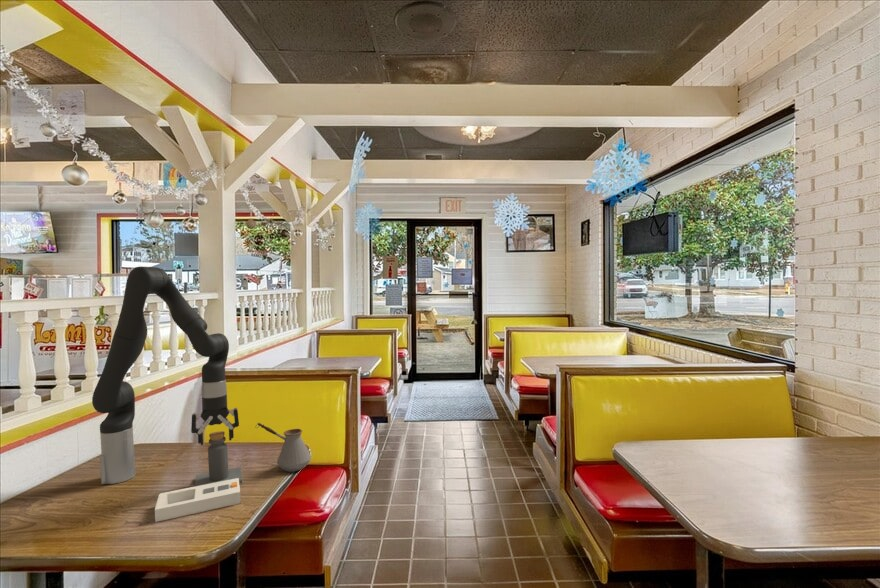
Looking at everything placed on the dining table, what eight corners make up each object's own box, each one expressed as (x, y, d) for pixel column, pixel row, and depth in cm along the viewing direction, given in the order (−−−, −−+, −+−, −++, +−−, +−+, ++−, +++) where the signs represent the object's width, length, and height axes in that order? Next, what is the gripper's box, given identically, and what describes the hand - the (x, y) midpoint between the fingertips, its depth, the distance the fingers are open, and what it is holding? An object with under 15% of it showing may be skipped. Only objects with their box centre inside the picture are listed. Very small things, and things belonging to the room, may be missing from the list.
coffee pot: (317, 462, 168) (315, 421, 167) (298, 475, 157) (296, 432, 157) (269, 456, 175) (267, 417, 174) (247, 469, 164) (245, 427, 163)
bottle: (221, 481, 151) (218, 436, 151) (205, 480, 153) (203, 436, 152) (232, 474, 157) (230, 430, 157) (217, 473, 158) (215, 430, 158)
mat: (194, 493, 146) (194, 489, 146) (196, 478, 157) (195, 475, 157) (242, 483, 152) (241, 480, 152) (240, 470, 163) (240, 466, 163)
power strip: (155, 522, 129) (154, 507, 129) (160, 504, 139) (159, 491, 139) (240, 503, 139) (240, 489, 139) (239, 488, 149) (238, 476, 149)
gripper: (237, 389, 160) (239, 435, 161) (190, 394, 154) (192, 442, 155) (238, 393, 153) (239, 442, 154) (189, 399, 147) (191, 449, 148)
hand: (216, 442), depth 154 cm, fingers open, 8 cm apart
